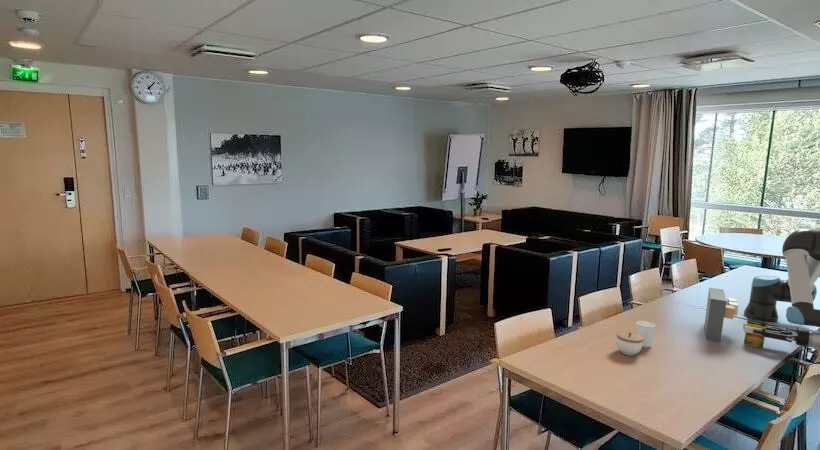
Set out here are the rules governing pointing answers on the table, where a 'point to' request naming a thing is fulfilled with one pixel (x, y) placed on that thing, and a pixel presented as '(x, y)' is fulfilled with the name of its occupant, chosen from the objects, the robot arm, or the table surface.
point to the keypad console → (715, 314)
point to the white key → (731, 300)
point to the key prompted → (729, 312)
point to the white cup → (645, 332)
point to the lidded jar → (629, 342)
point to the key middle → (734, 307)
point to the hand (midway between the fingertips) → (744, 327)
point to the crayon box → (755, 338)
